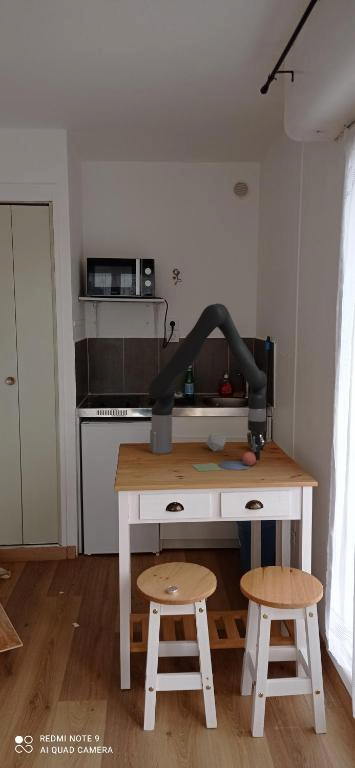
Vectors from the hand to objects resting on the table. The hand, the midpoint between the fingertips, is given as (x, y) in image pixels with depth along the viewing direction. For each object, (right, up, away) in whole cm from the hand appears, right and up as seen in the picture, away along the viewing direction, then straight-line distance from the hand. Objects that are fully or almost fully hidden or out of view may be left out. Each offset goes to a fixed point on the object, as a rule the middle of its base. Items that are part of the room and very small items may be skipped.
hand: (256, 459), depth 242 cm
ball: (-3, +1, -2) cm, 4 cm away
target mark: (-10, -2, -2) cm, 10 cm away
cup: (+2, +1, +24) cm, 24 cm away
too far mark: (-21, -2, -6) cm, 22 cm away
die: (-15, +1, +24) cm, 28 cm away
